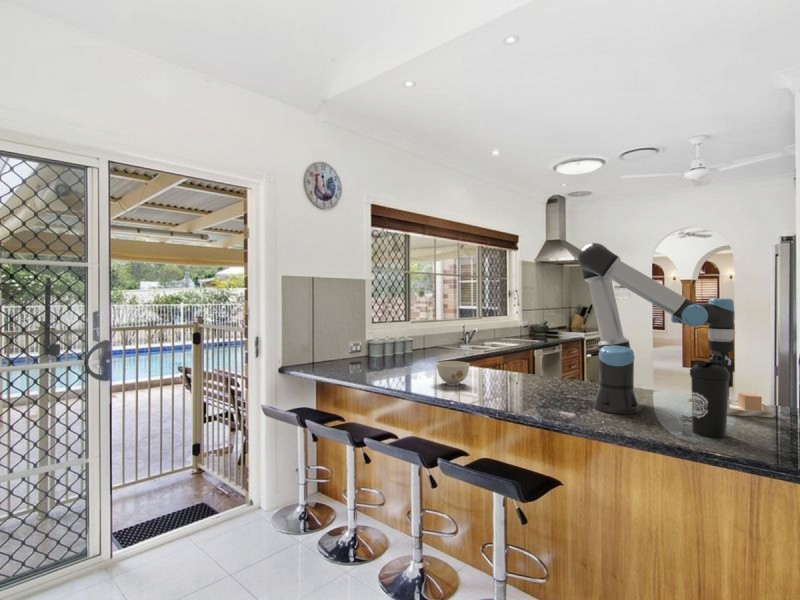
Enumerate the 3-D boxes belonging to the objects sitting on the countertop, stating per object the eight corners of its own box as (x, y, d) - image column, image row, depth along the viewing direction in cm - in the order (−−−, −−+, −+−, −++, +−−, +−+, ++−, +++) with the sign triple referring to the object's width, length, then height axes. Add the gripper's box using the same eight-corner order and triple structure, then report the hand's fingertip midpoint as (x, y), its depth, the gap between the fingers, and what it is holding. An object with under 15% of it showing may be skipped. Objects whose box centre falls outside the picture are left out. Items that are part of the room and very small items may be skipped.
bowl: (435, 387, 200) (435, 366, 199) (437, 380, 215) (437, 360, 215) (469, 388, 197) (469, 367, 197) (469, 381, 213) (469, 361, 212)
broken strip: (709, 406, 162) (709, 403, 162) (702, 402, 168) (702, 399, 168) (759, 409, 159) (759, 406, 158) (750, 404, 164) (750, 402, 164)
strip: (718, 411, 155) (718, 384, 155) (711, 406, 161) (711, 380, 160) (770, 414, 151) (771, 386, 151) (761, 409, 157) (761, 382, 156)
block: (745, 409, 153) (745, 395, 153) (738, 406, 158) (738, 392, 158) (761, 410, 152) (761, 396, 152) (753, 406, 157) (753, 393, 157)
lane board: (705, 413, 155) (705, 408, 155) (687, 402, 171) (687, 398, 170) (773, 417, 150) (773, 412, 150) (748, 405, 165) (748, 401, 165)
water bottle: (681, 429, 138) (682, 358, 137) (711, 428, 139) (711, 357, 138) (706, 439, 128) (707, 363, 127) (738, 438, 128) (739, 363, 128)
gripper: (746, 343, 147) (745, 410, 148) (720, 337, 165) (720, 397, 165) (721, 342, 149) (720, 408, 149) (698, 337, 166) (698, 396, 167)
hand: (720, 402), depth 157 cm, fingers closed on strip, 5 cm apart
